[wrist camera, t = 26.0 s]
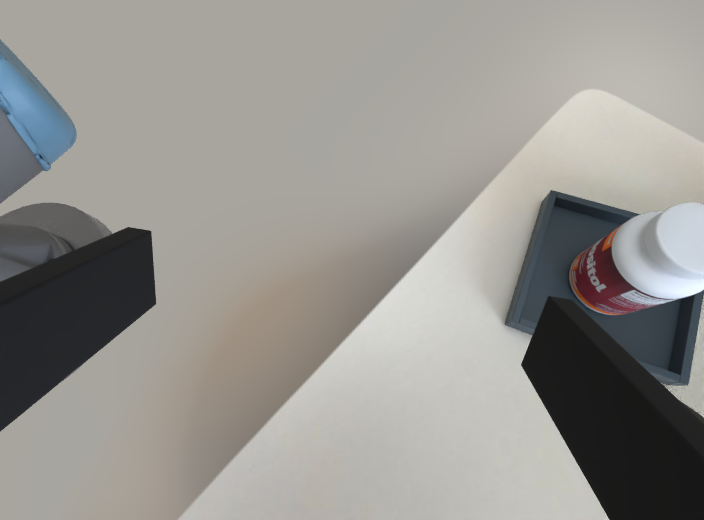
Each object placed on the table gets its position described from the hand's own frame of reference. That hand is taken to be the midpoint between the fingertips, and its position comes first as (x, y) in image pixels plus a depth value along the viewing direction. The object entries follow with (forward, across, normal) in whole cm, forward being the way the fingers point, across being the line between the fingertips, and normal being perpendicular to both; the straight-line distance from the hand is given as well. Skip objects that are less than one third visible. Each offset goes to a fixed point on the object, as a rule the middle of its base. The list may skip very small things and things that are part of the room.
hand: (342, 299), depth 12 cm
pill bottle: (+20, +22, -5) cm, 30 cm away
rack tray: (+20, +22, -5) cm, 31 cm away
